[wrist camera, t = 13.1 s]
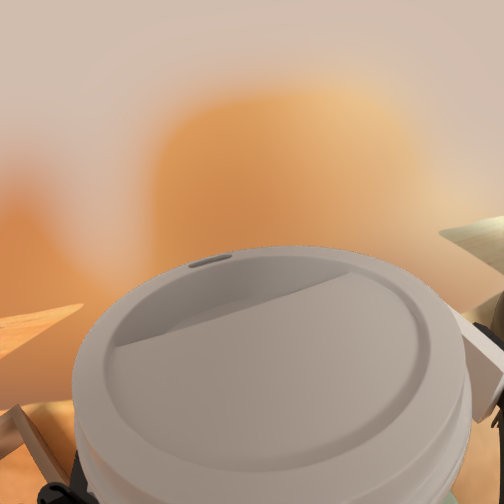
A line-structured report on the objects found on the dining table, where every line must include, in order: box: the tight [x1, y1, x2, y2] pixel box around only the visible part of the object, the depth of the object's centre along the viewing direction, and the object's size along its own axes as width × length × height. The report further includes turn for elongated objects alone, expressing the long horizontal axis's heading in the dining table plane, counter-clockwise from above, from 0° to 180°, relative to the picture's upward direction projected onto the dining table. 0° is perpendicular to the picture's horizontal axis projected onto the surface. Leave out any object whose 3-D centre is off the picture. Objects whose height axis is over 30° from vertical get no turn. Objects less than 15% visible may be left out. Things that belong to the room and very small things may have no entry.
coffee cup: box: [72, 246, 472, 504], centre depth 9 cm, size 10×10×15 cm
